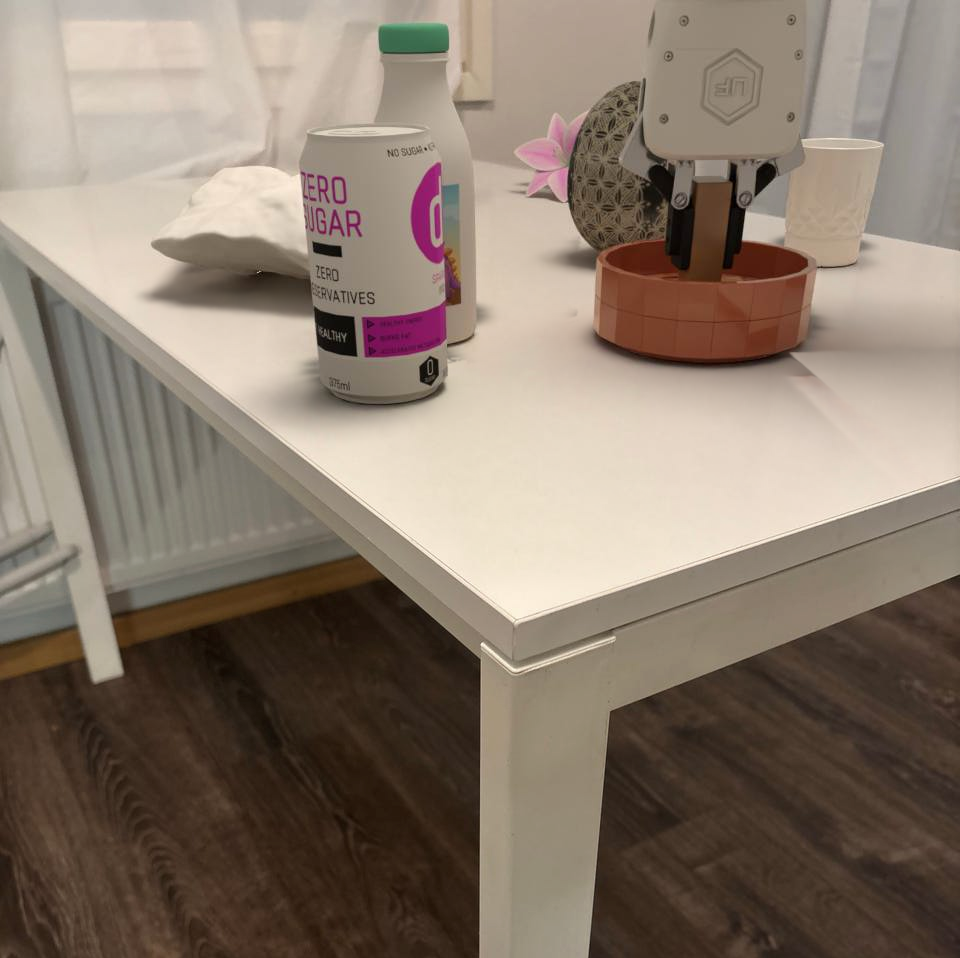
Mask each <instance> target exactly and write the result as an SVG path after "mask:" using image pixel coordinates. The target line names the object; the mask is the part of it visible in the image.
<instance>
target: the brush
mask: <svg viewBox="0 0 960 958" xmlns="http://www.w3.org/2000/svg"><path fill="white" fill-rule="evenodd" d="M732 185H733V183H732V182H731V181H729V180H727V178H725V177H724V176H722V175H695V176H693V177H692V184H691V192H690V198H691V199H692V201H691V209H693V210H694V215H695V217H694V227H693V237H692V248H691V258H690V266H689V268H688V269H687V270H679V272H678V278H665V279H673V280H682V281H706V282H734V281H744V280H742V279H741V278H740V277H722V269H723V260H724V252H725V243H726V235H727V227H728V218H729V210H730V202H731V193H732Z"/></svg>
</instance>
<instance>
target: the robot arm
mask: <svg viewBox="0 0 960 958" xmlns="http://www.w3.org/2000/svg"><path fill="white" fill-rule="evenodd" d="M652 8H653V9H652V12H651V13H652V14H651V18H650V22H649V29H648V34H647V41H646V46H645V54H644V60H643V65H642V73H641V80H640V82H641V86H640V94H639V103H638V113H637V120H636V122H635V125H634V127H633V129H632V131H631V133H630V135H629V137H628V139H627V141H626V144H625V146H624V148H623V150H622V152H621V154H620V156H619V164H620V165H621V166H622V167H623V168H625V169H626V170H628V171H630V172H632V173H634V174H636V175H638V176H640V177H642V178H644V179H646V180H648V181H650V183H651V184H652V185H653V186H654V187H655V189H656V190H657V191H658V192H659V193H660V194H661V196H662V197H663V198H664V200H665V201H666V202H667V203H668V213H667V225H666V237H665V253H666V255H667V256H671V263H672V264H673V265H674V266H675V267H676V268H677V269H678V270H687V269H688V268H689V266H690V258H691V248H692V237H693V227H694V217H695V215H694V210H693V209H691V201H692V199H691V198H690V192H691V184H692V177H693V169H694V162H695V163H696V161H725V160H727V173H726V179H727V180H729V181H731V182H732V183H733V185H732V193H731V202H730V210H729V218H728V227H727V235H726V243H725V252H724V260H723V269H732V266H733V259H734V254H739V253H740V251H741V245H742V240H743V238H744V237H743V236H744V228H745V221H746V213H747V212H746V211H747V209H748V208H749V207H751V206H752V205H753V203H754V201H755V199H756V197H758V196H759V194H760V193H762V192H763V190H765V189H766V188H767V187H768V186H769V185H770V184H771V183H772V182H773V180H775V179H776V178H778V177H781V176H784V175H786V174H787V173H789V172H790V171H791V170H793V169H795V168H797V167H799V166H801V165H802V164H803V163H804V162H805V152H804V149H803V145H802V141H801V140H802V138H801V134H800V132H801V131H800V130H801V124H802V117H803V107H804V95H805V85H806V84H805V83H806V67H807V45H808V0H655V1H654V5H653V7H652ZM646 150H649V151H651V152H652V153H653V154H655V155H656V156H658V157H661V158H664V159H667V166H666V168H665V167H663V166H662V165H660V164H659V163H657V162H655V161H653V160H651V159H649V158H648V157H647V155H646Z"/></svg>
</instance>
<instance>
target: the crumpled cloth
mask: <svg viewBox="0 0 960 958" xmlns="http://www.w3.org/2000/svg"><path fill="white" fill-rule="evenodd" d="M150 246H151V248H152V249H153V250H155V251H156V252H158V253H160V254H161V255H163V256H165V257H167V258H170V259H172V260H176V261H179V262H182V263H185V264H192V265H193V266H195V267H196V268H200V269H201V268H202V269H203V268H208V269H220V270H221V269H222V270H223V269H226V270H228V271H230V272H231V273H234V274H237V275H240V276H244V275H253V276H255V275H254V274H256V273H257V272H259V271H262V272H268V273H275V274H279V275H284V276H291V277H294V278H296V279H299V280H305V279H306V280H311V278H310V268H309V258H308V248H307V238H306V228H305V218H304V208H303V198H302V188H301V178H300V173H298V174H295V175H292V176H291V175H290V174H289V173H287V172H284V171H282V170H280V169H279V168H276V167H272V166H267V165H266V166H265V165H247V166H235V167H223V168H221V169H220V170H218V171H217V172H216V173H215V174H214V175H213V176H212V177H211V178H209V180H208V181H206V182H205V183H204V184H202V185H200V186H199V187H198V189H197V190H196V191H195V192H194V193H193V194H192V195H191V197H190V198H189V200H188V201H187V202H186V204H185V205H184V206H183V208H182V209H181V211H179V214H178V217H177V218H176V219H174V220H172V221H170V222H168V223H166V224H165V225H163V226H162V227H161V228H160V229H158V231H157V232H156V233H155V234H154V236H153V237H152V239H151V241H150ZM256 275H257V274H256Z"/></svg>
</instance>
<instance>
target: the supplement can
mask: <svg viewBox="0 0 960 958" xmlns="http://www.w3.org/2000/svg"><path fill="white" fill-rule="evenodd" d="M306 135H307V139H306V141H305V143H304V147H303V149H302V152H301V155H300V156H299V157H300V158H299V161H298V167H299V174H300V178H301V188H302V198H303V208H304V218H305V228H306V238H307V248H308V258H309V268H310V278H311V279H310V288H311V297H312V308H313V316H314V326H315V327H314V328H315V337H316V338H315V339H316V348H317V357H318V358H317V359H318V367H319V376H320V383H321V384H323V386H325V387H326V388H327V389H329V390H330V392H331V393H332V394H333V395H334V396H335V397H336V398H338V399H342V400H345V401H348V402H351V403H359V404H366V405H390V404H391V405H392V404H398V403H406V402H410V401H415V400H419V399H423V398H425V397H427V396H429V395H431V394H433V393H435V392H436V390H437V389H438V388H439V387H440V384H442V383H443V382H444V381H445V380H446V379H447V377H448V376H449V367H448V366H449V365H448V364H449V363H448V344H447V332H446V301H445V269H444V238H443V206H442V175H441V157H440V155H439V153H438V151H437V149H436V147H435V145H434V143H433V141H432V139H431V137H430V135H429V128H428V127H426V126H421V125H413V124H394V123H374V122H373V123H372V122H369V123H350V124H349V123H347V124H345V123H344V124H337V125H336V124H335V125H326V126H320V127H313V128H310V129H307V131H306Z"/></svg>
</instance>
